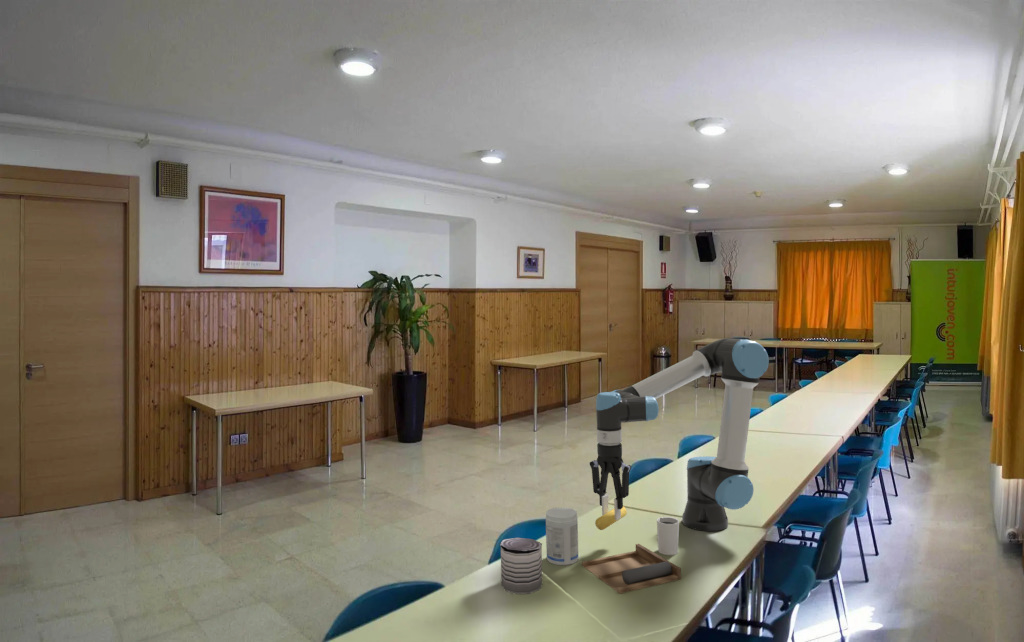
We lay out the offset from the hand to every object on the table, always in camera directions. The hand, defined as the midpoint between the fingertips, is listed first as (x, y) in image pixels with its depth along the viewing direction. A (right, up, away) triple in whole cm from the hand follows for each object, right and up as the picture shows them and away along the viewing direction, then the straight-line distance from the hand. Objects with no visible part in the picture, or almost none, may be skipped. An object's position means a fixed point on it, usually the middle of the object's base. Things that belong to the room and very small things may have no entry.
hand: (611, 517), depth 202 cm
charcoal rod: (+7, -11, -21) cm, 25 cm away
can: (-28, -12, -23) cm, 38 cm away
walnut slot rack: (+3, -11, -16) cm, 20 cm away
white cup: (+17, -10, -2) cm, 20 cm away
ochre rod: (+1, -1, -1) cm, 2 cm away
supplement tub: (-16, -11, -7) cm, 20 cm away
